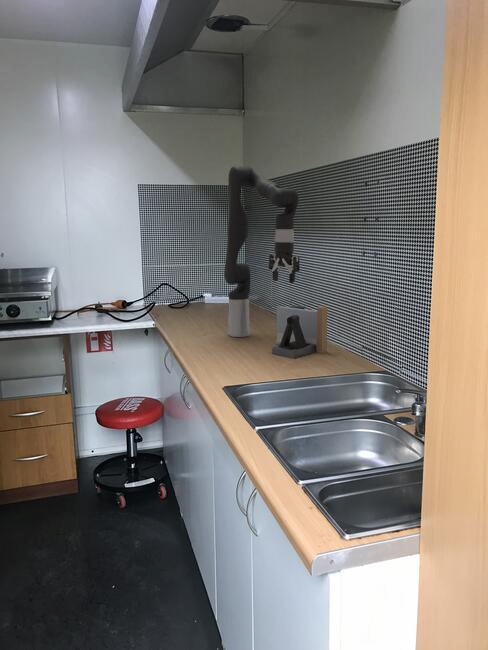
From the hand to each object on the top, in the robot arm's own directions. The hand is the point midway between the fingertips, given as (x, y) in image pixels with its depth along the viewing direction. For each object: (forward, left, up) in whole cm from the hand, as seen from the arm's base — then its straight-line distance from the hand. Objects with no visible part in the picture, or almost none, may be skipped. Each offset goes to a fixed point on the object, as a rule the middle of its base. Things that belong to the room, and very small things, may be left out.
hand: (283, 281), depth 212 cm
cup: (-6, +16, -28) cm, 33 cm away
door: (+4, +6, -28) cm, 28 cm away
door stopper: (+8, -3, -25) cm, 26 cm away
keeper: (+8, -3, -28) cm, 29 cm away
